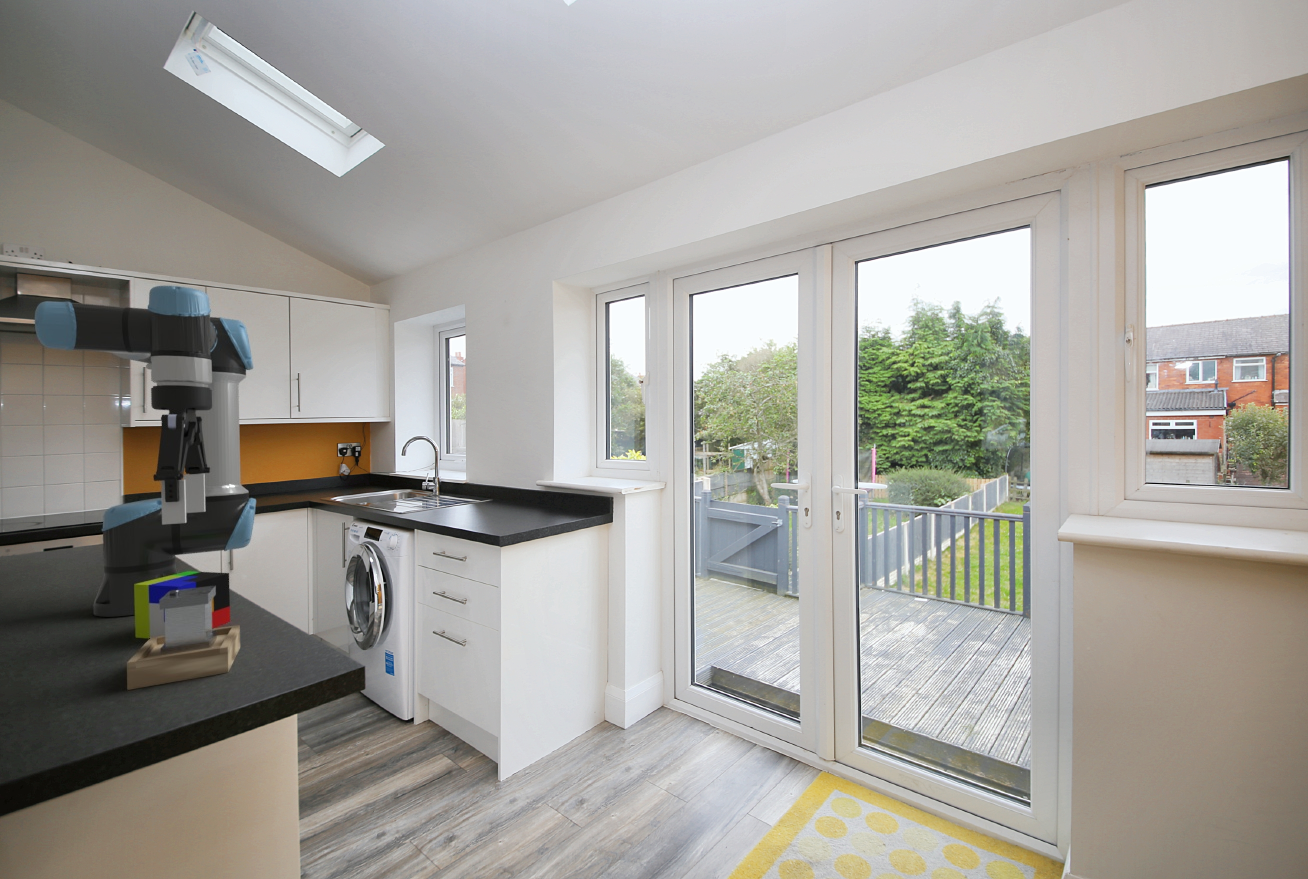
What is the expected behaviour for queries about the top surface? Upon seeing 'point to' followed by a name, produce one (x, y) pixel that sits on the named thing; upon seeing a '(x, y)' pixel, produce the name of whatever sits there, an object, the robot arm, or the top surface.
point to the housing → (188, 620)
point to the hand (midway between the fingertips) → (185, 517)
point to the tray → (182, 660)
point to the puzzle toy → (152, 591)
